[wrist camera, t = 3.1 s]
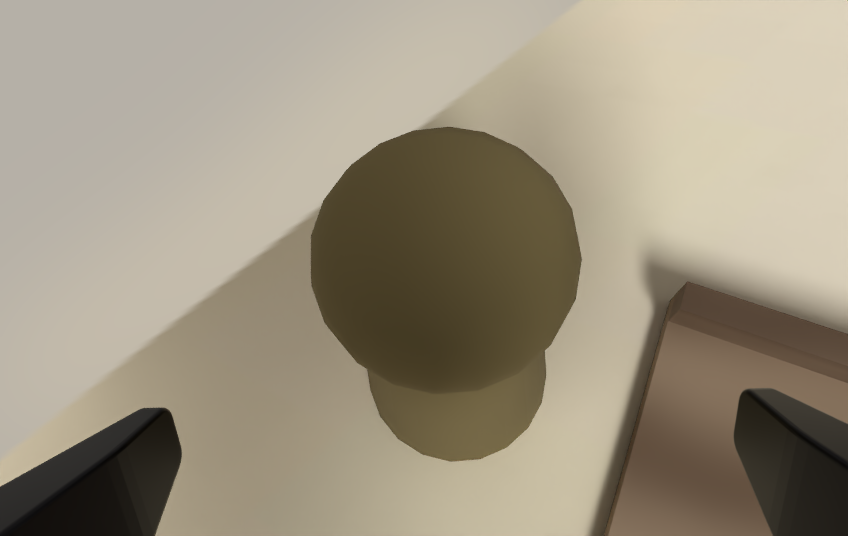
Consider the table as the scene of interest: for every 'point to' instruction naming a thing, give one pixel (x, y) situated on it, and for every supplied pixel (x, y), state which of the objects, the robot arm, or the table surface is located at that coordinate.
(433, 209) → the olive pawn shaped piece
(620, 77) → the table surface
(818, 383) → the channel board
